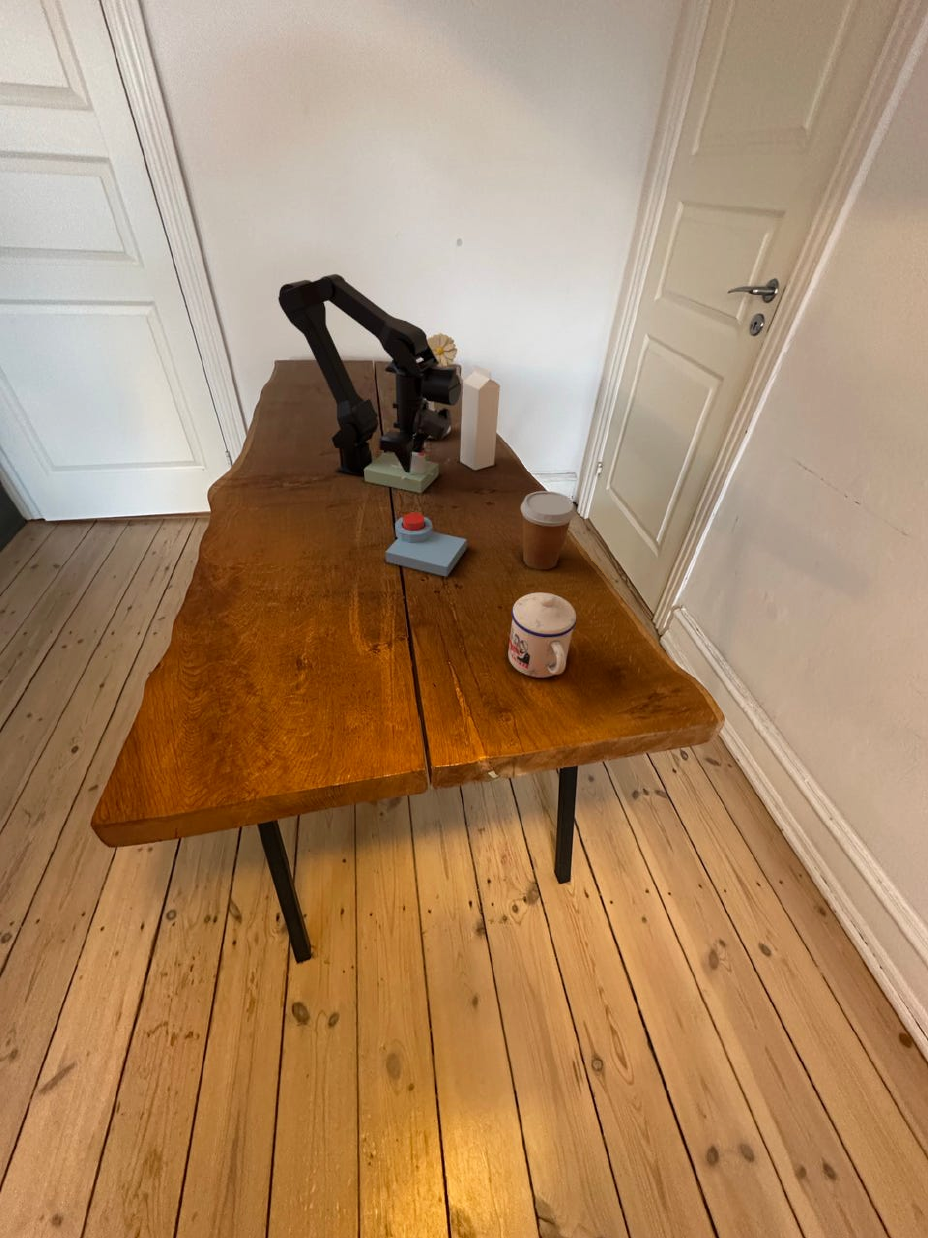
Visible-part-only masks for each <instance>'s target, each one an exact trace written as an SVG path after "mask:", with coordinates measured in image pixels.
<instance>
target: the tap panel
mask: <svg viewBox="0 0 928 1238" xmlns="http://www.w3.org/2000/svg"><path fill="white" fill-rule="evenodd" d="M439 467H440V466H439V462H434V461H429V460H425V472H424V473H423V474H421V473H416V472H412V471H410V472H409V473H407V472H405V471H404V470H402V469H399V468H398V458H397V457H396V455H395V454H394V453H390V452H383V453H382V454H380V455H379V456H378V457H376V459H374V460H372V463H371V464H370V465H368V466H367V467H366V468H365V469H364V475H363V476H364V482H365V483H371V484H376V485H379V486H385V487H390V488H394V489H399V490H404V491H408V492H413V493H416V494H422V493H423V492H424V491H425V490H426V489H427V488H428V487H429V486H430V485H431V484H432V483H433V482H434V481H435V480H436V478H438V476H439V470H440V469H439Z"/></svg>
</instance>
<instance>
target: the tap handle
mask: <svg viewBox="0 0 928 1238" xmlns="http://www.w3.org/2000/svg"><path fill="white" fill-rule="evenodd" d="M425 461H426V454H425V452H422V453H416V452H412V460H411V469H410V471H412V472H416V473H421V474H423V473H424V472H425ZM398 468H399V469H402V470H404V469H403V467H402V466H401V464H400V462H399V460H398Z"/></svg>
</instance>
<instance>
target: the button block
mask: <svg viewBox="0 0 928 1238" xmlns="http://www.w3.org/2000/svg"><path fill="white" fill-rule="evenodd" d="M394 525H395V526H394V528H395V529H394V530H395V537H396V538H397V539H395V541H394V542H393V543H392V544H391V545H390V546H389V547H388V548H387V550H386V551H385V561H386V562H387V563H390V564H393V565H394V564H395V565H399V566H402V567H406V568H410V569H415V570H419V571H422V572H427V573H430V574H434V575H437V576H442V577H448V576H449V575H450V573H451V572H452V570H453V569H454V568H455V566H456V565H457V563H458V562H459V561H460V559H461V558H462V556H463V554H464V552H465V551H466V550H467V541H468V540H467V538H464V537H463V538H462V537H458V536H454V535H451V534H445V533H441V532H437V531H434V529H433V528H434V526H433V521H432V520H430V519H429V518H428V517H426V516H424V529H422V530H419V531H409V530H405V529H404V527H403V517H400V518H398V519H397V521H395V523H394Z"/></svg>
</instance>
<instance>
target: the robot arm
mask: <svg viewBox="0 0 928 1238" xmlns="http://www.w3.org/2000/svg"><path fill="white" fill-rule="evenodd" d="M278 292H279V294H278V297H277V299H278V303H279V306H280V308H281V310H282V312H284V314H285V316H286V318H287V320H288V321H289V322H290V324H291V325H292V326H293V327H294V328H296V329H297V330H298V331H299V332H300V333H302V335H303V336H304V337H305V340H306V342H307V345H309V348H310V351H311V353H312V355H313V357H314V358H315V361H316V362H317V365H318V368H319V369H320V371H321V374H322V376H323V378H324V380H325V382H326V384H327V386H328V388H329V390H330V392H331V395H332V396H333V399H334V401H335V404H336V421H337V423H338V426H339V430H338V431H337V432H336V433H335V434H334V435H333V436H332V437H331V441H332V443H333V446H334V448H336V449H338V451H339V459H340V461H339V462H340V466H339V467H337V472H340V473H346V474H350V475H354V476H362V477H363V476H364V469H365V468H366V467H367V466H368V465H370V464H371V463H372V462H373V455H372V454H373V453H372V449H370V442H368V441H370V440H372V439H373V436H374V434H375V433H376V432H377V430H378V426H379V421H378V417H379V414H378V413H377V411H376V410H375V408H374V405H373V403H372V400H371V399H370V398H367V399H363V398H362V397H361V396H360V395H359V393H358V392H357V390H356V388H355V386H354V384H353V382H352V379H351V378H350V375H349V373H348V370H347V368H346V366H345V364H344V362H343V359H342V358H341V355H340V352H339V351H338V349H337V346H336V345H335V342H334V340H333V337H332V336H331V333H330V331H329V329H328V327H327V320H326V319H327V308H326V305H325V302H330V303H331V304H333V306H335V307H336V308H338V309H339V310H340V311H342V312H343V313H344V314H346V315H347V316H348V317H350V318H351V319H352V320H354V321H355V322H356V323H357V324H358V325H360V326H361V327H363V328H364V329H365V330H366V331H368V332H369V333H370V334H372V335H373V336H374V337H375V338H376V339H377V340H378V341H379V343H380V345H381V347H382V349H383V351H384V352H385V353H386V354H387V355H388V356H389V357H390V358H391V359H392V360H391V362H390V364H388V365H387V366H386V367H385V368H384V370H385V372H387V373H390V374H394V377H395V378H394V379H395V401H393V402H392V409H395V410H396V420H395V421H394V422H393V429H398V430H399V431H395V430H389V431H387V432H386V433H385V434H383V435H382V436H381V437H380V438H379V439H378V447H379V448H378V449H379V450H380V451H384V452H388V453H393V454H394V455H396V457H397V458H398V460H399V462H400V464H401V466H402V467H403V469H404V471H405V472H407V473H409V472H410V469H411V460H412V452H416V453H423V450H424V446H425V442H426V440H427V439H429V438H428V437H429V436H431V437H433V438H432V439H433V440H435V441H441V440H443V438H444V437H446V436H447V435H448V434H447V431H448V429H449V426H450V427H451V426H452V425H453V422H452V420H453V419H452V417H451V410H450V409H449V408H447V407H445V406H451V407H455V406H456V405H457V404H458V402H459V399H460V397H461V391H462V383H461V379H460V377H459V375H458V374H457V373H458V372H457V371H458V369H457V368H456V367H451V366H448V367H449V368H445V366H444V367H440V366H437V365H438V364H439V362H438V360H437V359H436V357H435V355H434V353H433V351H432V350H431V348H430V346H429V344H428V341H427V339H428V337H427V334H426V332H425V331H424V330H423V329H422V328H420V327H418V326H417V325H415V324H413V323H411V322H410V321H407V320H404V319H400V318H397V317H394V316H393V315H391V314H389V313H387V312H386V311H385V310H384V309H382V308H381V307H380V306H378V305H377V304H376V303H375V302H373V301H372V300H371V299H370V298H368V297H367V296H366V295H364V294H363V293H361V292H360V291H359V290H357V289H356V288H355V287H354V286H352V285H351V284H350V283H348V282H347V281H346V279H345V278H344V277H343V276H342V275H340V274H338V273H334V274H333V273H332V274H329V275H324V276H322V277H320V278H319V279H316V280H314V281H311V280H310V279H303V280H298V281H293V282H290V283H286V284H283V285H282V286H281V287H280V289H279V291H278ZM420 359H422V360H420ZM417 360H420V361H419V362H417ZM425 399H426V400H425ZM428 401H430V402H434V403H435V404H441V405H445V406H444V407H442V408H441V409H440V410H439V411H438V410H437V409H435V411H432V410H430V409H429V403H428ZM446 434H447V435H446Z"/></svg>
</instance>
